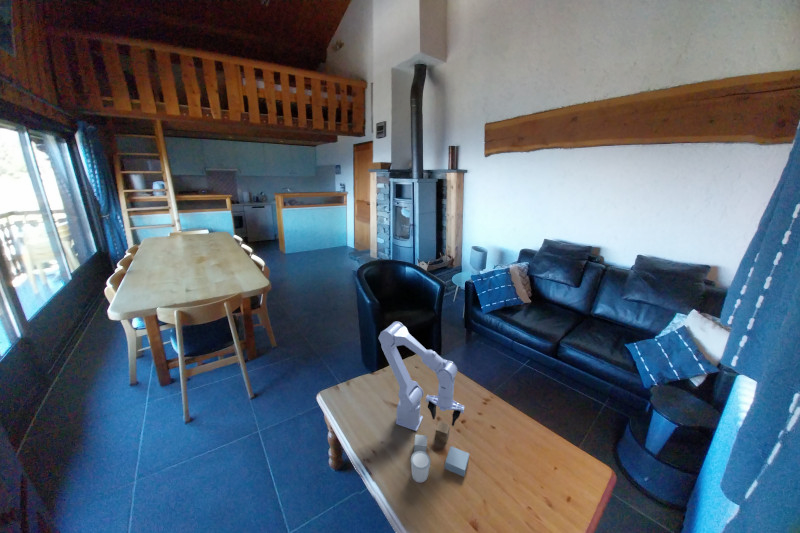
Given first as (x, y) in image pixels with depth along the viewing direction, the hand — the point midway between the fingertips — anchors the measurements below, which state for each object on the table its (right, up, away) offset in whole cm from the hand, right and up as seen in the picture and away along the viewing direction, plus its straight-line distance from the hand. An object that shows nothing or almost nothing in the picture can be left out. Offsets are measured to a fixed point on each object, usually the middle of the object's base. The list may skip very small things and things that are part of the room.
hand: (443, 420), depth 117 cm
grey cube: (-9, -10, -3) cm, 14 cm away
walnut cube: (0, -8, +3) cm, 8 cm away
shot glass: (-10, -13, -12) cm, 20 cm away
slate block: (+4, -12, -8) cm, 15 cm away
